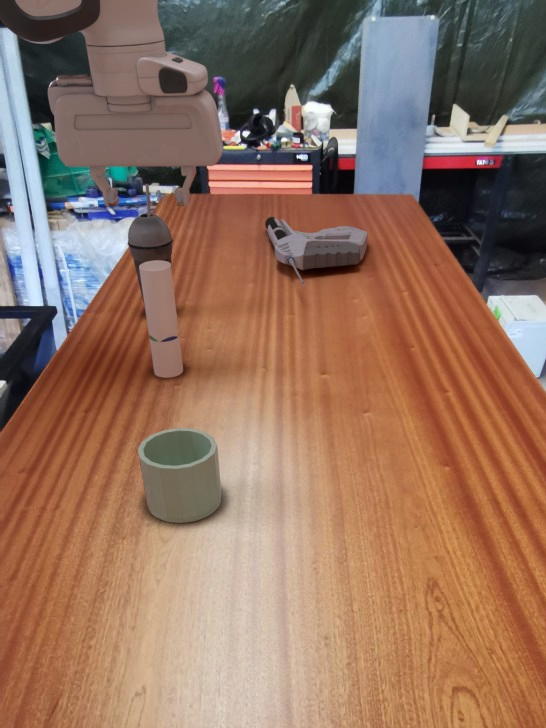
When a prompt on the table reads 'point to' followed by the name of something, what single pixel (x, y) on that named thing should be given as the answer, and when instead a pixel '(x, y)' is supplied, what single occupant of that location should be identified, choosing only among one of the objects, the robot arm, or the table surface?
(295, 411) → the table surface
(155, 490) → the pale green hollow cylinder
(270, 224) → the power tool
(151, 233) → the beverage cup
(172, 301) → the tube
